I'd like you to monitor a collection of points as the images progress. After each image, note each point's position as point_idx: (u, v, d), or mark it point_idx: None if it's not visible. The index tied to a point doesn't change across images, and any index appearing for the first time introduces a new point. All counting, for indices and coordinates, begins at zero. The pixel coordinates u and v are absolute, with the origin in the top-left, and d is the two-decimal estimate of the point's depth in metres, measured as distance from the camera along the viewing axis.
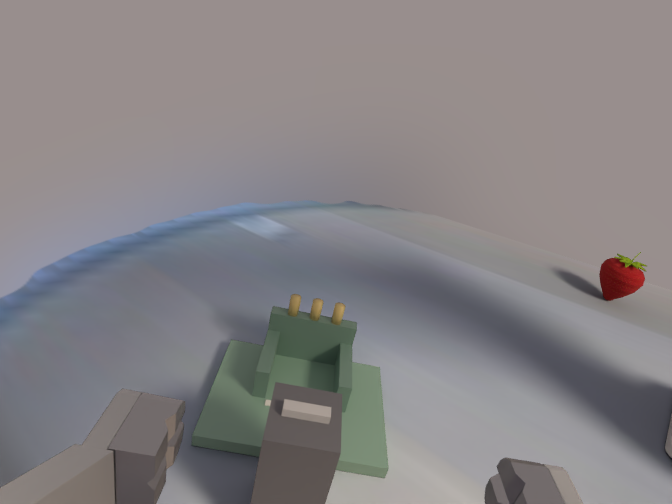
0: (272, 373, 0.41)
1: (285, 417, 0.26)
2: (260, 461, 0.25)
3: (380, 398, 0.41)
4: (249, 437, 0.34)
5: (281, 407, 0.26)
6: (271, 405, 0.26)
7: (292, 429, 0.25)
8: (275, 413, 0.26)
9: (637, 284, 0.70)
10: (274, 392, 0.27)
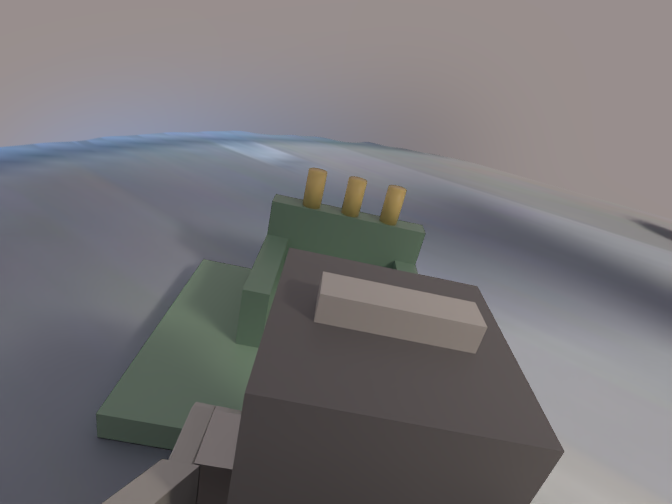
0: None
1: (327, 326, 0.07)
2: (237, 484, 0.07)
3: None
4: None
5: (312, 301, 0.08)
6: (279, 294, 0.08)
7: (358, 363, 0.07)
8: (292, 314, 0.08)
9: None
10: (287, 266, 0.09)
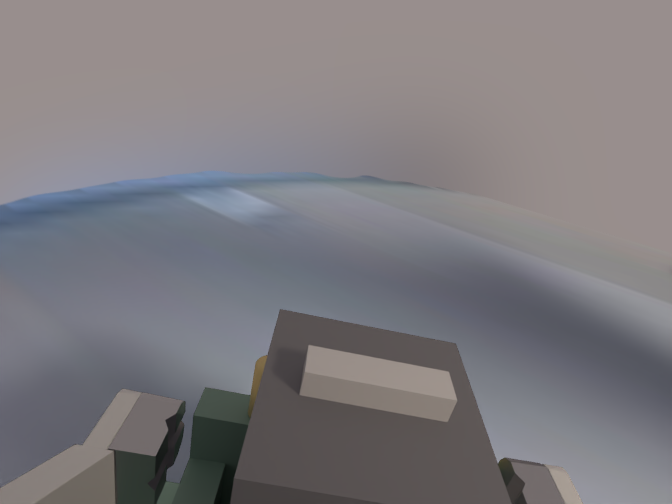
0: None
1: (311, 400, 0.08)
2: None
3: None
4: None
5: (298, 371, 0.09)
6: (268, 365, 0.09)
7: (338, 439, 0.07)
8: (280, 388, 0.08)
9: None
10: (277, 332, 0.10)
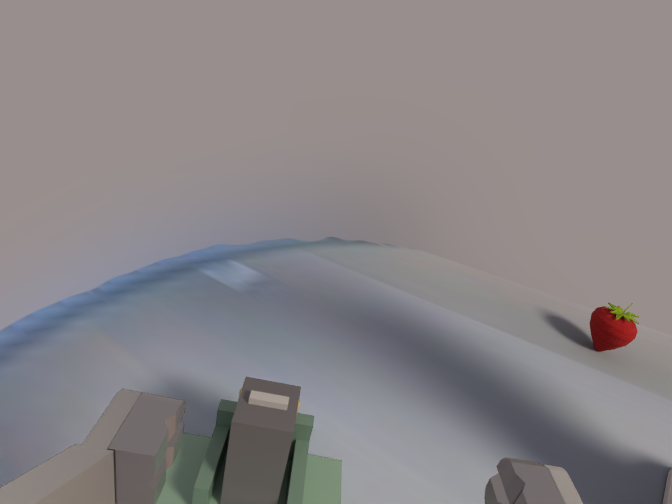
0: (219, 476, 0.37)
1: (251, 404, 0.32)
2: (230, 439, 0.31)
3: None
4: None
5: (249, 397, 0.33)
6: (241, 395, 0.33)
7: (256, 414, 0.32)
8: (243, 401, 0.32)
9: (629, 338, 0.66)
10: (244, 385, 0.34)
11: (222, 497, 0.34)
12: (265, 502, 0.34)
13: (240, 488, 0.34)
